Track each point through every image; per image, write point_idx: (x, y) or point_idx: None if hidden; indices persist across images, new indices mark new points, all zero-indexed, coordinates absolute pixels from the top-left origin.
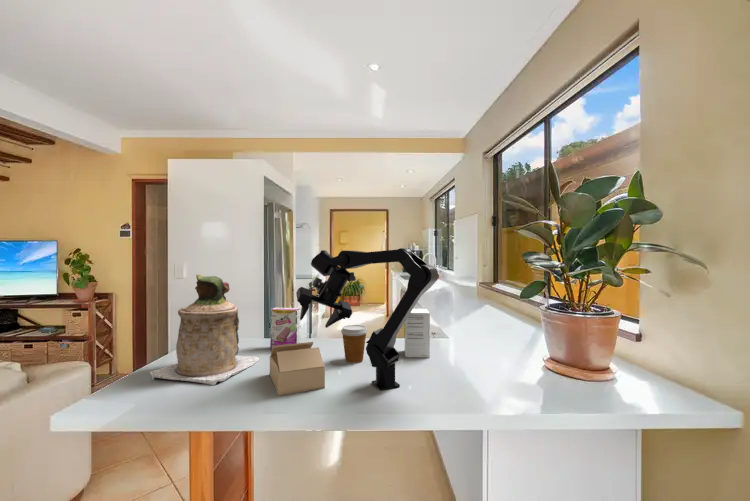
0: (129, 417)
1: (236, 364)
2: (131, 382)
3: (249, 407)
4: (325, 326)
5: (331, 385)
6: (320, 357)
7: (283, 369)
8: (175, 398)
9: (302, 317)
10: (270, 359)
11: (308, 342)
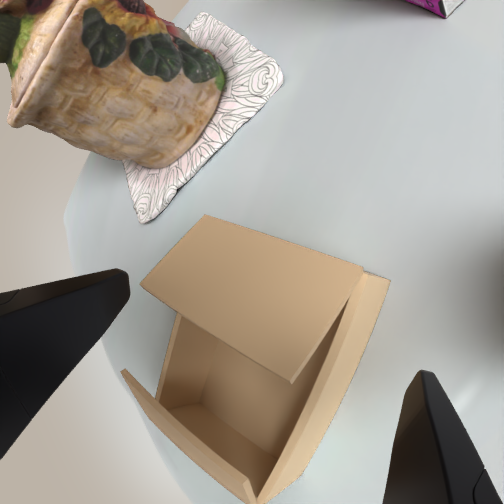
0: None
1: (223, 98)
2: None
3: None
4: (412, 384)
5: (329, 479)
6: (244, 496)
7: (153, 421)
8: (106, 247)
9: (95, 333)
10: None
11: (264, 366)
